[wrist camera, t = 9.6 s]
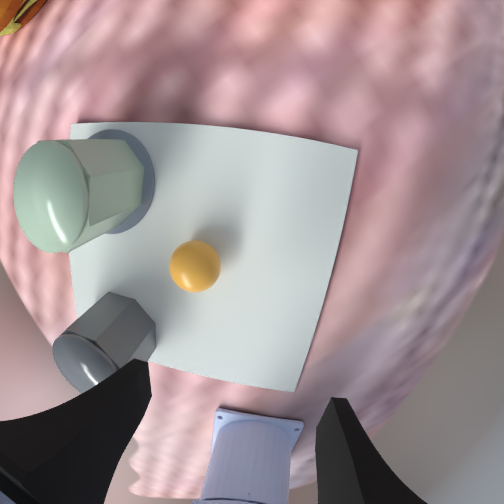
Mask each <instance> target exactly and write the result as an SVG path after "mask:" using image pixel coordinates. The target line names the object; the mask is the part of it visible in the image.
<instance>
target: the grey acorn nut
mask: <svg viewBox="0 0 504 504" xmlns="http://www.w3.org/2000/svg"><path fill="white" fill-rule="evenodd" d="M155 324H156V323H155V322H154V321H153V320H152V319H151V318H150V316H149V315H148V314H147V313H146V312H145V311H144V309H143V308H142V307H141V306H140V305H139V303H138V302H137V301H136V300H135V299H133V298H129V297H125V296H122V295H118V294H115V293H111V292H108V293H106V294H105V295H104V296H103V297H102V298H101V299H100V300H98V301H97V302H96V303H95V304H94V305H93V306H92V307H90V308H89V309H88V310H87V311H86V312H85V313H84V314H83V315H81V316H80V317H79V318H78V319H77V320H76V321H75V322H74V323H73V324H71V325H70V326H69V327H68V328H67V329H66V330H65V331H64V332H63V333H62V334H61V335H60V336H59V337H58V338H57V339H56V340H55V341H54V344H53V356H54V360H55V362H56V365H57V367H58V368H59V370H60V372H61V373H62V375H63V376H64V377H65V378H66V380H67V381H68V382H69V383H70V384H71V385H72V386H73V387H74V388H75V389H77V390H78V391H79V392H80V393H84V392H85V391H87V390H89V389H91V388H92V387H94V386H95V385H97V384H98V383H100V382H101V381H103V380H104V379H106V378H107V377H109V376H110V375H112V374H113V373H114V372H116V371H117V370H119V369H120V368H121V367H123V366H124V365H125V364H127V363H128V362H130V361H131V360H132V359H134V358H135V359H138V360H142V361H145V362H147V361H148V360H149V358H150V356H151V355H152V353H153V352H154V350H155V349H156V327H155Z"/></svg>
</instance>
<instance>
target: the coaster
mask: <svg viewBox="0 0 504 504" xmlns="http://www.w3.org/2000/svg"><path fill="white" fill-rule="evenodd" d="M88 139H122V140H125V141H126V143H127V144H128V145H129V147H130V148H131V150H132V151H133V152H134V154H135V155H136V157H137V158H138V159H139V161H140V162H141V164H142V165H143V166H144V176H143V189H142V204H141V205H140V206H139V207H138V208H137V209H136V210H135V211H134V212H133V213H132V214H131V215H130V216H129V217H128V218H127V219H126V220H125V221H124V222H123V223H122V224H121V225H120V226H118V227H116V228H114V229H112V230H110V231H108V232H106V234H118V233H122V232H125V231H127V230H129V229H131V228H132V227H134V226H135V225H137V224H138V223H139V222H140V221H141V220H142V219H143V217H144V216H145V214H146V213H147V211H148V209H149V207H150V205H151V202H152V199H153V195H154V188H155V175H154V168H153V164H152V161H151V158H150V156H149V154H148V152H147V150H146V148H145V147H144V146H143V144H142V143H141V142H140V141H139V140H138V139H137V138H136V137H134V136H133V135H131V134H130V133H127V132H125V131H121V130H113V129H110V130H103V131H100V132H97V133H95V134H93V135H92V136H90V137H89V138H88Z"/></svg>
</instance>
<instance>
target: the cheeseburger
mask: <svg viewBox="0 0 504 504" xmlns="http://www.w3.org/2000/svg"><path fill="white" fill-rule="evenodd" d="M45 1H46V0H0V36H3V35H8V34H11V33H14V32H16V31H18V30H19V29H20V28H21V27H23V26H24V25H25V24H26V23H28V22H29V21H30V19H31V18H32V17H33V16H34V15H35V14H36V13H37V12H38V10H39V9H40V8H41V7H42V5H43V4H44V3H45Z"/></svg>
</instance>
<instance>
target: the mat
mask: <svg viewBox="0 0 504 504" xmlns="http://www.w3.org/2000/svg"><path fill="white" fill-rule="evenodd" d="M110 129H113V130H121V131H125V132H127V133H130V134H131V135H133V136H134V137H136V138H137V139H138V140H139V141H140V142H141V143H142V144H143V146H144V147H145V148H146V150H147V152H148V154H149V156H150V158H151V161H152V164H153V168H154V175H155V188H154V195H153V199H152V202H151V205H150V207H149V209H148V211H147V213H146V214H145V216H144V217H143V219H142V220H141V221H140V222H139V223H138V224H137V225H135V226H134V227H132V228H131V229H129V230H127V231H125V232H122V233H118V234H106V233H104V234H103V235H101V236H99V237H97V238H95V239H93V240H91V241H89V242H87V243H85V244H83V245H81V246H80V247H78V248H76V249H74V250H72V251H70V252H69V257H70V267H71V276H72V285H73V292H74V299H75V305H76V311H77V317H78V318H79V317H80V316H81V315H83V314H84V313H85V312H86V311H87V310H88V309H89V308H90V307H92V306H93V305H94V304H95V303H96V302H97V301H98V300H100V299H101V298H102V297H103V296H104V295H105V294H106V293H108V292H111V293H115V294H118V295H122V296H125V297H129V298H133V299H135V300H136V301H137V302H138V303H139V305H140V306H141V307H142V308H143V309H144V311H145V312H146V313H147V314H148V315H149V316H150V318H151V319H152V320H153V321H154V322H155V323H156V324H155V327H156V349H155V350H154V352H153V353H152V355H151V356H150V358H149V360H148V361H150V362H153V363H156V364H160V365H163V366H167V367H170V368H174V369H178V370H181V371H185V372H189V373H193V374H197V375H201V376H206V377H210V378H214V379H219V380H224V381H228V382H233V383H238V384H244V385H249V386H255V387H261V388H267V389H273V390H280V391H287V392H294V391H295V388H296V386H297V383H298V380H299V377H300V374H301V371H302V368H303V366H304V363H305V360H306V357H307V354H308V351H309V347H310V344H311V341H312V338H313V335H314V332H315V328H316V325H317V322H318V319H319V315H320V312H321V308H322V305H323V302H324V298H325V295H326V291H327V287H328V284H329V280H330V276H331V272H332V269H333V265H334V261H335V257H336V253H337V249H338V245H339V241H340V236H341V232H342V228H343V223H344V219H345V214H346V210H347V205H348V200H349V195H350V191H351V185H352V180H353V175H354V170H355V164H356V158H357V153H358V150H355V149H351V148H347V147H342V146H338V145H334V144H329V143H324V142H319V141H314V140H309V139H304V138H299V137H293V136H287V135H281V134H275V133H268V132H262V131H254V130H247V129H238V128H230V127H220V126H209V125H197V124H182V123H160V122H100V123H79V124H71V132H70V139H88V138H89V137H90V136H92V135H93V134H95V133H97V132H100V131H103V130H110ZM192 240H198V241H203V242H205V243H207V244H209V245H210V246H212V247H213V248H214V249H215V251H216V252H217V254H218V256H219V258H220V262H221V271H220V275H219V277H218V279H217V281H216V282H215V284H214V285H213V286H212V287H210V288H209V289H207V290H205V291H202V292H188V291H185V290H183V289H181V288H180V287H179V286H178V285H177V284H176V283H175V282H174V281H173V279H172V277H171V275H170V270H169V262H170V258H171V256H172V253H173V252H174V250H175V249H176V248H177V247H178V246H179V245H181V244H182V243H185V242H187V241H192Z"/></svg>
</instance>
